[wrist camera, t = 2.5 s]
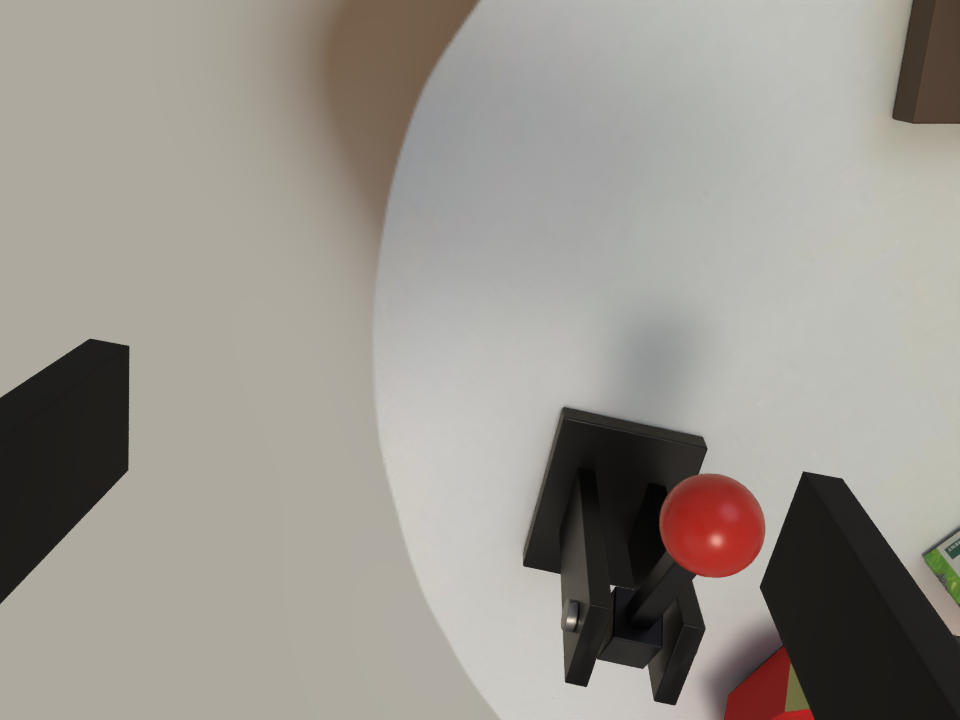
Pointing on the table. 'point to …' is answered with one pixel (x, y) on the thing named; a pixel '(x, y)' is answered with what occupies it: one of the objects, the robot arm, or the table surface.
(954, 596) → the syrup box
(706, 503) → the power lever
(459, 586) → the table surface
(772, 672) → the red faceted polyhedron
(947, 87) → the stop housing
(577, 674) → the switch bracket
